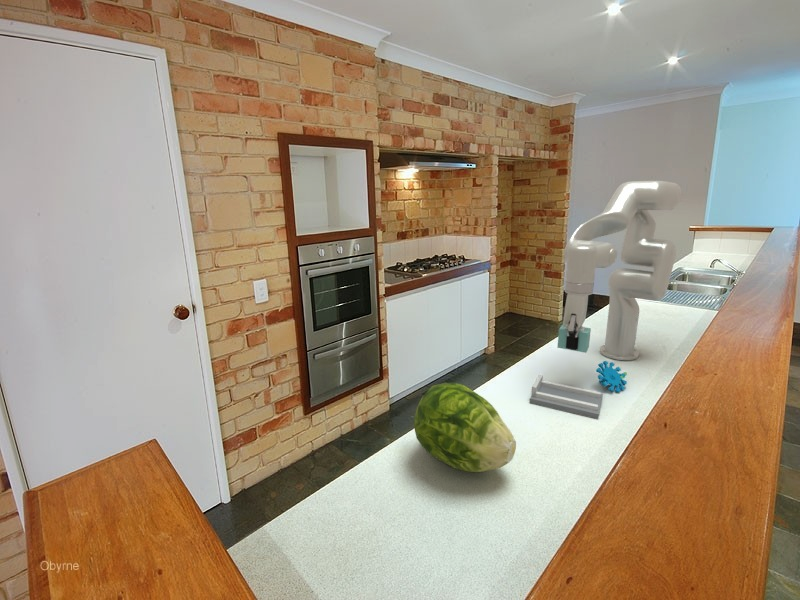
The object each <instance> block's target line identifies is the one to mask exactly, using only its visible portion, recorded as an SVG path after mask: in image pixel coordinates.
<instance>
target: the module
mask: <svg viewBox="0 0 800 600" xmlns="http://www.w3.org/2000/svg"><path fill="white" fill-rule="evenodd" d="M568 326H569V324H568V325H567V326H564V325H563V323H562V324H561V326H559V328H558V336H557V338H558V339H557V349H563V350H568V351H573V352H574V351H576V352H581V353H585V354H586V353H587V352H588V349H589V348H590V339H591V329H592V328H591V327H586V326H583V325H582V326H581V327H580V328H579V331H578V337H579V340H578V349H577V350H572V349H567V348H566V339H567V333H568ZM575 327H577V326H575ZM574 330H575V331H576V329H574Z"/></svg>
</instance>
